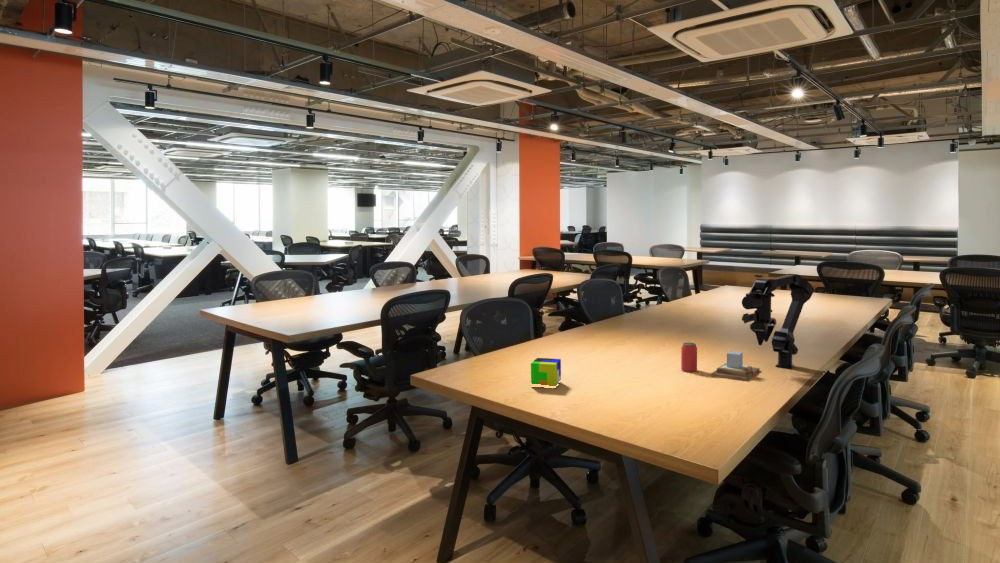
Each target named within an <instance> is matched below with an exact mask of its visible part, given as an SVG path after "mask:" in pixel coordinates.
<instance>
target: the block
mask: <svg viewBox="0 0 1000 563" xmlns="http://www.w3.org/2000/svg"><path fill="white" fill-rule="evenodd" d="M743 354H744V353H743V352H741V351H732V350H729V351H728V352H727V353H726V363H727V367H729V368H737V369H739V368H741V367H742V366H743V365H744V364H743V361H744V360H743V358H744V356H743Z"/></svg>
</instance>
